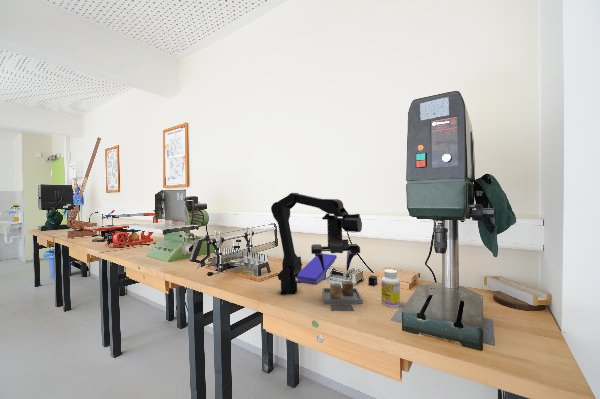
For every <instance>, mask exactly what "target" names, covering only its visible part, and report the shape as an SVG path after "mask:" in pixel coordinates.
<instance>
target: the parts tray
mask: <svg viewBox="0 0 600 399" xmlns="http://www.w3.org/2000/svg"><path fill="white" fill-rule="evenodd" d="M322 299H323V304H324V305H326V304H327V305H363V302H364V300H363V298H362V296H361V294H360V291H359V290H358V288H356V287H353V296H343V294H342V287H341V299H330V287H323V288H322Z"/></svg>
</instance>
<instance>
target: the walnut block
mask: <svg viewBox="0 0 600 399" xmlns="http://www.w3.org/2000/svg"><path fill="white" fill-rule="evenodd" d="M341 288H342V294H343V296H353V288H354V282H353V281H352V280H342V281H341Z"/></svg>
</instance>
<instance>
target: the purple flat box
mask: <svg viewBox="0 0 600 399" xmlns="http://www.w3.org/2000/svg"><path fill="white" fill-rule="evenodd" d="M322 255H323V262H324V271H323V268H322V265H321V262H320V260H319V258H318V256H315V255H314V257H313V258H312V259H310V261H309V262H308V263H307V264H306V265H305V266H304V267H302V269H301V271H300V272H299V273H298V276H296V280H297V284H302V283H303V284H311V285H318V284H320V283H321V282H322V281H325V280H326V271H327V270H328V269H331V267H332V265H333V264H334V263H335V261H336V259H337V258H338V257H337V254H332V253H331V254H329V253H322Z"/></svg>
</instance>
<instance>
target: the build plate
mask: <svg viewBox="0 0 600 399" xmlns="http://www.w3.org/2000/svg"><path fill="white" fill-rule="evenodd" d="M367 281H368V282H367V283H368V286H371V287H372V286H373V287H376V286H377V284H378V276H376V275H372V274H371V275H369V276H368V280H367Z"/></svg>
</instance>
